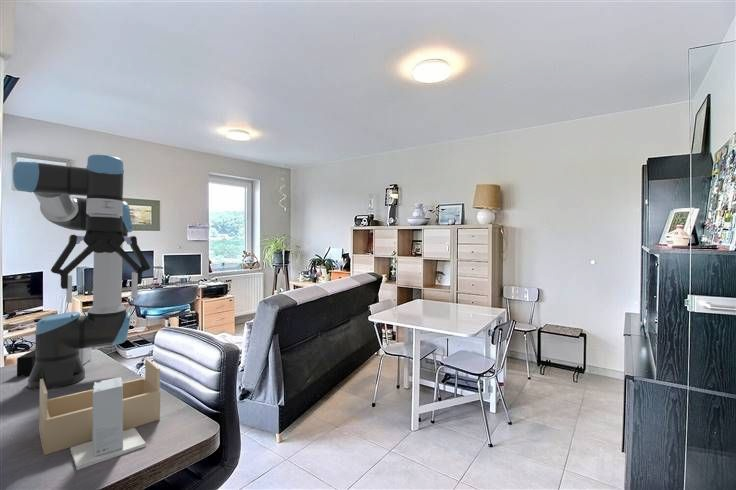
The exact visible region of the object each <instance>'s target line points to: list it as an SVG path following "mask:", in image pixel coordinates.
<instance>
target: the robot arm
mask: <svg viewBox="0 0 736 490" xmlns="http://www.w3.org/2000/svg"><path fill="white" fill-rule="evenodd" d="M86 162H87V164H86V167H77V166H68V165H61V164H53V163H52V164H50V163H44V162H43V163H42V162H37V161H17V162H16V163H15V164H14V165H13V169H12V170H13V171H12V181H13V185H14V188H15V189H16V190H17V191H20V192H27V193H31V194H32V193H33V195H34V196H35V197H36V198H37V200H38V202H39V203H40V204H39V210H40V213H41V214H42V215H43V217H44V218H45V219H46V220H48V221H49V222H50V223H52V224H54V225H57V226H59V227H61V228H65V229H67V230H71V231H83V232H84V231H85V235H83V236H82V235H76V234H70V235H69V237H68V244H66V246H65V248H64V249H63V250H62V252H61V254H60V255H59V256H58V258H57V259H56V261H55V263H54V264H53V265H52V267H51V268H50V271H51V273H52V274H57V275H60V288H61V289H62V290H65V291H66V292H65V296H66V299H65V300H66V303H67V304H69V303H70V304H71V303H73V275H72V274H70V273H71V272H72V271H73V270H75V269H76V268H77V267H78V266H79V265H80V264H81V263H82V262H83V261H84V260H85V259H86V258H87V257H88V256H90V255H91V254H92V253H93V274H92V275H93V278H92V279H93V280H92V281H93V284H92V286H93V287H92V288H93V289H92V306H91V307H90V308H89V309H88V310H87V315H81V313H80V311H70V312H64V313H58V314H53V315H48V316H46V317H43V318H40V319H39V320H38V321H37V322H36V326H35V332H34V335H35V349H34V350H35V364H34V367H33V369H32V371H31V374H30V376H28V379H27V388H28V389H30V390H37V391H38V390H39V391H40V379H43V380H44V383H45V387H46V390H50V389H57V388H62V387H66V386H69V385H73V384H75V383H78V382H80V381H82V380H83V379H84V378H85V377H86V369H85V366H84V365H83V364H82V362H81V359H80V357H79V349H83V348H91V347H92V348H97V347H106V346H115V345H120V344H123V343H125V342H126V340H127V339H128V336H129V331H130V324H131V322H130V321H131V317H132V316H131V312H129V311H127V307H126V306H125V305H123V304H122V296H123V295H122V293H123V291H122V290H123V260H124V261H125V263H126V264H127V265H129V267H130V268H132V269H133V270H134V272H131V293H130V295H131V297H132V298H138V285H142V283H143V282H142V281H143V273H144V272H145V271H149V270H150V269H151V266H150V265H149V263H148V261H147V258H146V257H145V256H144V254H143V252H142V250H141V248H140V246H139V245H138V238H137V237H136V236H135V235H131V236H128V234H129V233H131V232H133V226H132V225H133V224H132V222H133V221H132V215H131V211H130V205H129V204H128V203H127V202H126V201H124V198H123V195H124V173H125V169H124V161H123V160H122V158H119V157H116V156H112V155H106V154H91V155H89V156H88V157H87V161H86ZM72 196H81V197H72ZM82 196H83V197H86V198H83V197H82ZM82 241H83V242H84V243H85V245H86V248H85V249H83V251H81V253H79V255H77V256H76V257H75V258H74V259H72V261H71V262H69V263H68V265H65V267H64V268H63V269H62V267H63V265H64V264H65V262H66V261H67V259H68V258H69V256H70V254H71V253H72V252H73V250H74V249H75V247H76V245H78V244H81V242H82ZM124 242H126V245H129V246H130V249H131V250H132V252H133V254H134V255H135V258H136V259H137V261H138V263H139V264H140V265H139V264H138V263H137V262H136V261H134V259H133V258H132V257H131V256H130V255H129V254H128V253H127V252H126V251H125V250H124V249H123V247H124V246H123V244H124Z"/></svg>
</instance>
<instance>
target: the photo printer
mask: <svg viewBox="0 0 736 490" xmlns="http://www.w3.org/2000/svg"><path fill="white" fill-rule="evenodd" d="M92 348H93V347H91V348H83V349H79V357H80V359H81V362H82V364H83V366H84V365H86V364H87V363H88V362H89V361H91V360H92V356H93V355H92V354H93V352H92V350H93V349H92Z"/></svg>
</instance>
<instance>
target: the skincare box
mask: <svg viewBox="0 0 736 490" xmlns="http://www.w3.org/2000/svg"><path fill="white" fill-rule="evenodd" d="M92 389H93V393H92V435H93V440H92V441H93V456H98V455H101V454H104V453H109V452H113V451H117V450H121V449H123V379H122V377H121V376H120V377H114V378H110V379H103V380H99V381H94V383H93V387H92Z"/></svg>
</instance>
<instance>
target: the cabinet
mask: <svg viewBox="0 0 736 490" xmlns="http://www.w3.org/2000/svg"><path fill="white" fill-rule="evenodd" d="M144 360H145V361H144V363H145V366H144V369H145V371H144V377H142V378H141V377H140V378H138V379H132V380H128V381H125V382H124V381H122V383H123V431H126V430H129V429H132V428H137V427H140V426H143V425H147V424H149V423H154V422H156V421H159V420H160V419H161V390H160V387H161V368H160V367H159V366H158V365H156V364H155V363H154V362H153V361H152V360H150V359H149V358H145V359H144ZM92 393H93V388H92V389H89V390H84V391H79V392H75V393H70V394H65V395H60V396H58V397H52V398H48V389H46V387H45V383H44V380H43V379H40V390H39V415H38V416H39V419H38V423H39V425H38V426H39V427H38V429H39V430H38V432H39V439H40V443H41V447H42V452H43V453H42V454H43V455H44V456H47V455H50V454H53V453H55V452H60V451H62V450H66V449H68V448H71V447H74V446H77V445H80V444H84V443H87V442H90V441H93V435H92Z"/></svg>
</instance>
